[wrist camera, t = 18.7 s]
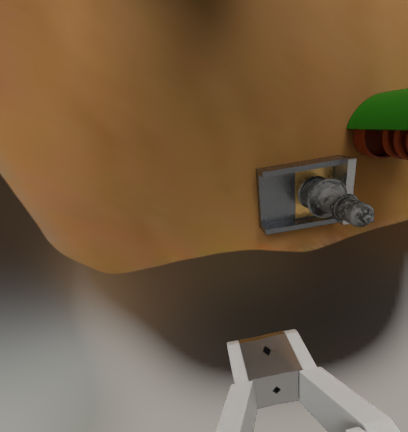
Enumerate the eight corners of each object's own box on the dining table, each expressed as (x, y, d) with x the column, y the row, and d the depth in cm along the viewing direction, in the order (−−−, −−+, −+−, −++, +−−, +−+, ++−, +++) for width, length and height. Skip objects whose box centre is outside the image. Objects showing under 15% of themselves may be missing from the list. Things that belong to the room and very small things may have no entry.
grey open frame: (259, 227, 38) (267, 237, 34) (256, 168, 34) (264, 173, 31) (334, 214, 38) (350, 223, 35) (338, 155, 35) (356, 158, 31)
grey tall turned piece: (335, 173, 34) (407, 194, 23) (328, 209, 37) (390, 244, 25) (299, 174, 34) (354, 195, 23) (293, 210, 36) (341, 246, 25)
